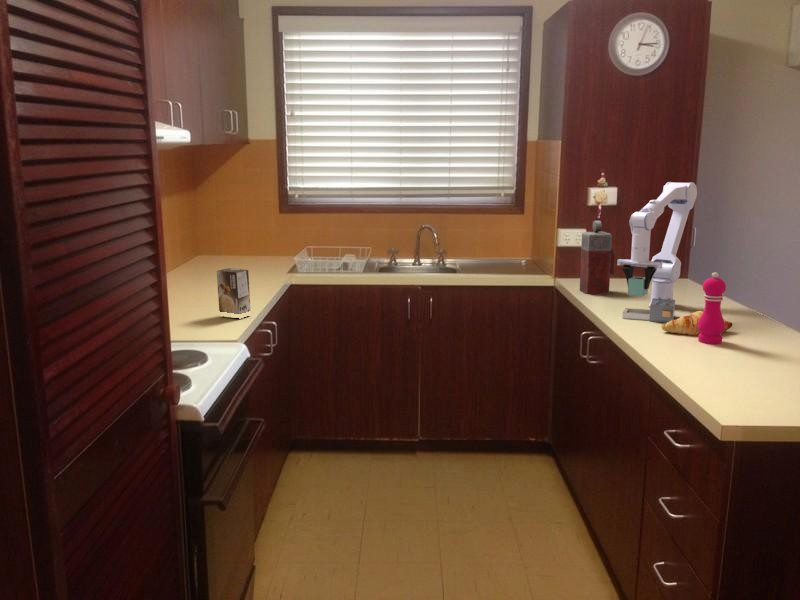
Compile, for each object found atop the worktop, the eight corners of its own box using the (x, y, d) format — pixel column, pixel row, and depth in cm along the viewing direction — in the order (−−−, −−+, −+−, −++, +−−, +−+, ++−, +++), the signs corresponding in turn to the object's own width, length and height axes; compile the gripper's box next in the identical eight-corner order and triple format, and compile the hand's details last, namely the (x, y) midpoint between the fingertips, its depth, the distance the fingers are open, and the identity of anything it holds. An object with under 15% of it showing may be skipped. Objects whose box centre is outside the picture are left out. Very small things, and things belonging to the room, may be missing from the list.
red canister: (615, 294, 274) (618, 221, 268) (586, 294, 273) (589, 221, 267) (606, 289, 282) (610, 219, 277) (579, 290, 282) (582, 219, 276)
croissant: (664, 346, 211) (671, 326, 206) (653, 324, 218) (659, 304, 213) (734, 343, 211) (742, 323, 206) (721, 321, 219) (728, 301, 214)
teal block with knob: (632, 292, 242) (633, 275, 241) (647, 293, 240) (648, 277, 238) (627, 294, 239) (628, 277, 237) (642, 296, 236) (643, 279, 234)
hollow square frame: (625, 312, 241) (626, 294, 240) (674, 315, 235) (675, 297, 234) (621, 319, 230) (622, 301, 229) (672, 323, 224) (673, 304, 223)
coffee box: (252, 316, 241) (249, 269, 237) (239, 320, 235) (237, 272, 232) (231, 313, 245) (228, 267, 242) (218, 317, 239) (215, 270, 236)
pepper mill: (700, 337, 207) (705, 269, 203) (726, 340, 203) (732, 271, 199) (692, 342, 202) (698, 272, 198) (719, 346, 197) (725, 275, 193)
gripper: (614, 247, 237) (612, 287, 240) (658, 250, 229) (655, 292, 231) (622, 245, 243) (620, 284, 245) (665, 248, 234) (662, 288, 237)
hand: (638, 288), depth 239 cm, fingers closed on teal block with knob, 5 cm apart
